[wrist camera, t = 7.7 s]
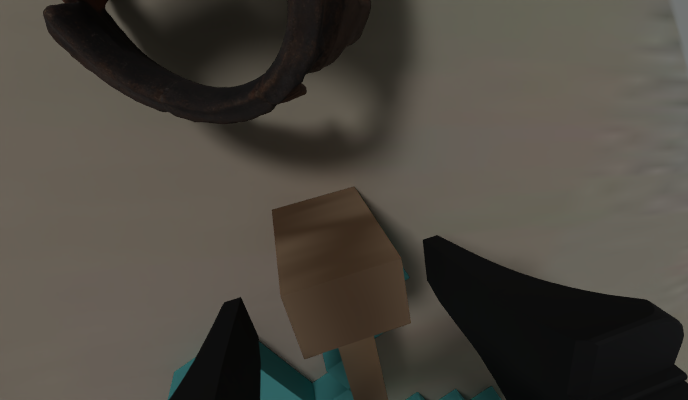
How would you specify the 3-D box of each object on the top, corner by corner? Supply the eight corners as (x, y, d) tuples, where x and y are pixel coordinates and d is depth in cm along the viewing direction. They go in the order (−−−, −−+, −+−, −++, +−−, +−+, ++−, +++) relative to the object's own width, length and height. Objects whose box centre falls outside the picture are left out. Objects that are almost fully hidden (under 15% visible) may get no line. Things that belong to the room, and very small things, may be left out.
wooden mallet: (322, 357, 21) (345, 467, 16) (271, 209, 16) (280, 296, 11) (384, 336, 21) (427, 436, 16) (354, 186, 16) (401, 258, 11)
